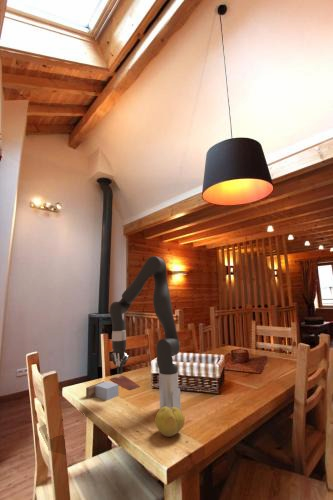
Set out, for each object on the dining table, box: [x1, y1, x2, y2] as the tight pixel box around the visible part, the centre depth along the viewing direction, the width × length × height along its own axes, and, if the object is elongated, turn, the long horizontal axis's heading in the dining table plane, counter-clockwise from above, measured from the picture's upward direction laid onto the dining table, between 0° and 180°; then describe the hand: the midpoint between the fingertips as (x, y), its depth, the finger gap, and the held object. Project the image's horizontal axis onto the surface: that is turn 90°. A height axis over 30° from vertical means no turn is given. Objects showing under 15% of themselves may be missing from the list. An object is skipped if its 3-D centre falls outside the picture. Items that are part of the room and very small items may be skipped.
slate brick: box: [94, 380, 119, 401], centre depth 143 cm, size 10×8×6 cm
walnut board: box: [85, 381, 105, 400], centre depth 145 cm, size 3×12×5 cm, turn 143°
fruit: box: [154, 406, 185, 438], centre depth 103 cm, size 11×12×10 cm
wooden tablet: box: [109, 375, 141, 391], centre depth 162 cm, size 27×10×2 cm, turn 36°
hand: (119, 373), depth 135 cm, fingers closed
